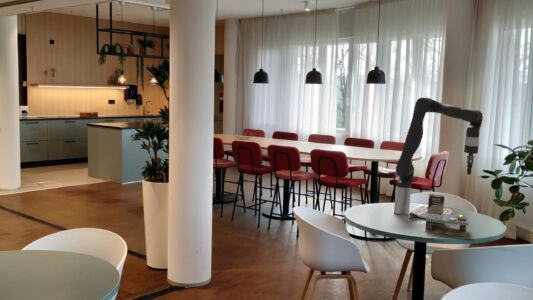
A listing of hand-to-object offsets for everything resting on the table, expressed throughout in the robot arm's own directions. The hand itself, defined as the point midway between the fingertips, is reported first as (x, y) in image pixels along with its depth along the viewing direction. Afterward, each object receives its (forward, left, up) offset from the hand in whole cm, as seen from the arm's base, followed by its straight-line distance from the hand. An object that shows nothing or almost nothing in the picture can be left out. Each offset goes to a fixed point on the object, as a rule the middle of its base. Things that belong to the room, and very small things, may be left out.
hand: (468, 174), depth 317 cm
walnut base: (-11, -14, -31) cm, 36 cm away
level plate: (-11, -14, -25) cm, 31 cm away
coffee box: (-17, +5, -32) cm, 36 cm away
